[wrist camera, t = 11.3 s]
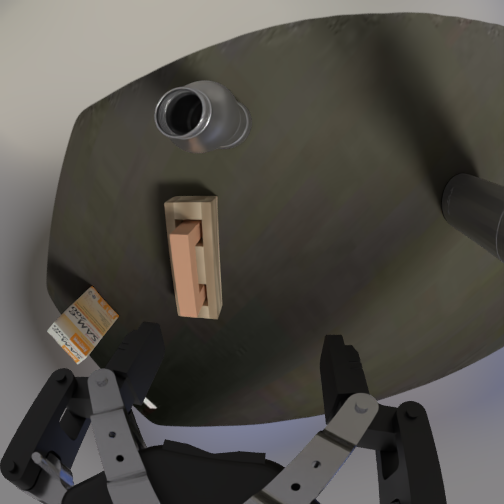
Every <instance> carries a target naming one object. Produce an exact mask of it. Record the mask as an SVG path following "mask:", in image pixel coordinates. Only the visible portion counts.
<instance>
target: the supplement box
mask: <svg viewBox="0 0 504 504" xmlns="http://www.w3.org/2000/svg"><path fill="white" fill-rule="evenodd" d="M118 317H119V315H118V314H117V313H116V312H115V311H114V310H113V309H112V308H111V307H110V306H109V305H108V303H107V302H106V301H105V300H104V299H103V298H102V297H101V296H100V295H99V293H98V292H97V291H96V290H95V288H94V287H93V286H91V287H90V288H89V289H88V290H87V291H86V292H85V293H84V294H82V295H81V296H80V297H79V298H78V299H77V300H76V301H75V302H74V303H73V304H72V305H71V306H70V307H69V308H68V309H67V310H66V311H65V312H64V313H63V314H62V315H61V316H60V317H59V318H58V319H57V320H56V321H55V322H54V323H53V324H52V325H51V327H50V328H49V329H48V330H47V332H48V333H49V334H50V335H51V336H52V337H53V338H54V339H55V341H56V342H57V343H58V344H59V345H60V346H61V347H62V348H63V349H64V351H66V353H67V354H68V355H69V356H70V357H71V358H72V359H73V360H74V361H75V362H76V363H77V364H79V363H81V362H82V361H83V360H84V359H85V358H87V356H88V355H89V354H90V353H91V351H92V350H93V349H94V347H95V346H96V345H97V343H98V342H99V341H100V340H101V338H102V337H103V336H104V334H105V333H106V332H107V331H108V329H109V328H110V327H111V326H112V324H113V323H114V322H115V321H116V319H117V318H118Z"/></svg>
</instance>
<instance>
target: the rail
mask: <svg viewBox="0 0 504 504" xmlns="http://www.w3.org/2000/svg"><path fill="white" fill-rule="evenodd" d="M164 205H165V216H166V227H167V237H168V246H169V254H170V262H171V270H172V277H173V284H174V291H175V298H176V304H177V310H178V315H179V316H181V315H180V309H179V303H178V296H177V290H176V283H175V276H174V268H173V261H172V252H171V244H170V235H169V234H170V233H171V232H172V231H173V230H175V229H176V228H177V227H178V226H179V225H180V224H181V223H182V222H183V221H184V220H185V219H196V220H202V232H203V236H202V237H201V239H200V240H199V241H198V243H197V244H196V245H195V251H196V262H197V273H198V283H199V284H206V287H207V296H206V298H205V300H204V303H203V305H202V307H201V310H200V312H199V314H198V317H199V318H210V319H218V316H219V313H220V310H221V307H222V292H221V274H220V254H219V231H218V202H217V196H174V197H173V198H171V199H169V200H168V201H166V202H165V203H164Z"/></svg>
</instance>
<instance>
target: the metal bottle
mask: <svg viewBox="0 0 504 504" xmlns="http://www.w3.org/2000/svg"><path fill="white" fill-rule="evenodd" d="M154 119H155V124H156V126H157V128H158V129H159V131H160V132H161V133H162V134H164V135H165V136H167V137H169V138H170V139H171V141H172V142H173V143H174V144H175V145H176V146H177V147H179V148H180V149H182V150H184V151H187V152H190V153H206V152H210V151H212V150H215V149H217V148H218V149H230V148H234V147H236V146H238V145H239V144H241V143H242V142H243V141H244V140H245V139H246V138H247V136H248V135H249V133H250V130H251V126H252V118H251V114H250V112H249V110H248V109H247V107H246V106H245V105H244V104H242V103H241V102H239V101H237V100H236V99H235V97H234V95H233V94H232V93H231V91H230V90H229V89H227V88H226V87H225V86H224V85H222V84H220V83H217V82H214V81H206V80H203V81H196V82H193V83H190V84H187V85H185V86H184V87H177V88H174V89H171V90H170V91H168V92H166V93H165V94H164V95H163V96H162V97H161V98H160V100H159V101H158V103H157V105H156V108H155V113H154Z"/></svg>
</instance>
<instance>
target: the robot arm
mask: <svg viewBox="0 0 504 504" xmlns="http://www.w3.org/2000/svg"><path fill="white" fill-rule="evenodd" d="M442 210H443V214H444V217H445V219H446V221H447V222H448V223H449V224H450V225H451V226H452V227H454V228H455V229H457V230H458V231H460V232H461V233H463V234H464V235H466V236H467V237H469V238H470V239H472V240H473V241H474V242H476V243H477V244H479V245H480V246H481V247H483V248H484V249H486V250H487V251H488V252H490V253H491V254H492V255H494V256H495V257H496V258H498V259H499V260H500V261H501V262H503V263H504V186H501V185H498V184H496V183H493V182H490V181H487V180H484V179H481V178H478V177H475V176H472V175H469V174H465V173H462V174H458V175H456V176H454V177H453V178H452V179H451V180H450V181H449V182H448V184H447V185H446V187H445V190H444V192H443V197H442ZM164 354H165V345H164V341H163V337H162V333H161V329H160V325H159V324H158V323H152V322H143V323H142V324H141V326H140V327H139V329H138V330H133V331H132V332H130V333H129V334H128V335H126V337H125V338H124V340H123V341H122V344H120V346H119V347H118V349H117V350H116V352H115V353H114V355H113V356H112V358H111V360H110V361H109V363H108V364H107V366H106V367H105V369H99V370H96V371H94V372H93V373H92V374H91V375H90V376H89V377H74V375H73V373H72V371H71V370H69V369H65V368H63V369H58V370H56V371H55V372H53V373H52V375H51V376H50V378H49V379H48V381H47V382H46V384H45V385H44V387H43V388H42V390H41V391H40V393H39V395H38V396H37V398H36V399H35V401H34V402H33V404H32V406H31V407H30V409H29V411H28V412H27V414H26V416H25V417H24V419H23V421H22V422H21V424H20V426H19V428H18V429H17V431H16V433H15V435H14V437H13V438H12V440H11V442H10V444H9V446H8V448H7V450H6V452H5V454H4V456H3V458H2V460H1V463H0V469H1V473H2V475H3V476H4V477H5V478H6V479H7V480H9V481H10V482H11V483H13V484H14V485H16V487H18V488H19V489H20V490H22V491H23V492H25V493H26V494H28V495H29V496H31V497H32V498H34V499H37V500H38V501H40V502H42V503H43V504H320V503H319V502H318V501H317V500H316V498H317V496H318V495H319V494H320V493H321V492H322V491H323V489H324V488H325V487H326V486H327V485H328V483H329V482H330V481H331V479H332V478H333V477H334V476H335V475H336V473H337V472H338V471H339V469H340V468H341V467H342V465H343V464H344V463H345V461H346V460H347V458H348V457H349V456H350V455H351V453H352V452H353V450H354V449H355V447H361V448H367V449H373V450H376V461H377V470H378V482H379V498H380V504H447V503H446V496H445V490H444V484H443V479H442V474H441V469H440V464H439V460H438V455H437V451H436V447H435V443H434V439H433V435H432V431H431V427H430V424H429V420H428V417H427V414H426V411H425V409H424V408H423V406H422V405H421V404H419V403H417V402H414V401H407V402H404V403H402V404H401V405H400V406H399V407H398V408H396V407H390V406H384V405H381V404H379V403H378V402H377V401H376V399H375V398H374V397H372V396H371V395H370V394H369V390H368V387H367V383H366V379H365V375H364V372H363V369H362V364H361V363H360V357H359V354H358V352H357V351H356V350H355V348H354V347H353V346H352V345H344V341H343V337H342V335H326V336H325V340H324V345H323V349H322V354H321V359H320V374H321V382H322V391H323V400H324V409H325V418H326V424H327V426H326V427H325V429H324V430H323V431H319V432H318V433H317V434H316V435H315V436H314V438H313V439H312V440H311V441H310V442H309V443H308V444H307V445H306V447H305V448H304V449H303V450H302V451H301V452H300V453H299V454H298V455H297V456H296V457H295V458H294V459H293V460H292V461H291V463H290V464H288V465H287V467H283V466H282V465H280V464H278V463H276V462H273V461H271V460H267V459H265V453H255V452H240V451H238V452H228V453H217V454H213V453H209V452H206V451H204V450H201V449H199V448H196V447H194V446H191V445H189V444H185V443H180V442H175V441H170V440H166V439H165V441H164V444H163V445H158V446H152V447H148V448H147V446H146V444H145V442H144V440H143V438H142V436H141V433H140V430H139V428H138V425H137V423H136V420H135V417H134V414H133V412H132V409H131V407H132V405H133V403H134V404H138V405H142V403H143V401H144V399H145V396H146V394H147V392H148V390H149V388H150V386H151V383H152V381H153V379H154V377H155V375H156V373H157V370H158V368H159V366H160V364H161V362H162V360H163V358H164ZM65 408H67V409H66V411H65V413H64V415H63V417H62V419H61V421H60V418H61V416H62V414H63V412H64V410H65ZM59 421H60V423H59ZM90 423H92V427H93V432H94V436H95V440H96V444H97V448H98V451H99V455H100V458H101V462H102V465H103V468H104V471H102V472H101V473H99V474H97V475H95V476H93V477H91V478H89V479H87V480H85V481H83V482H81V483H79V484H77V485H74V482H73V475H72V472H71V470H70V469H71V467H72V464H73V462H74V459H75V457H76V455H77V452H78V450H79V448H80V445H81V443H82V441H83V439H84V436H85V434H86V432H87V430H88V428H89V425H90Z"/></svg>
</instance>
